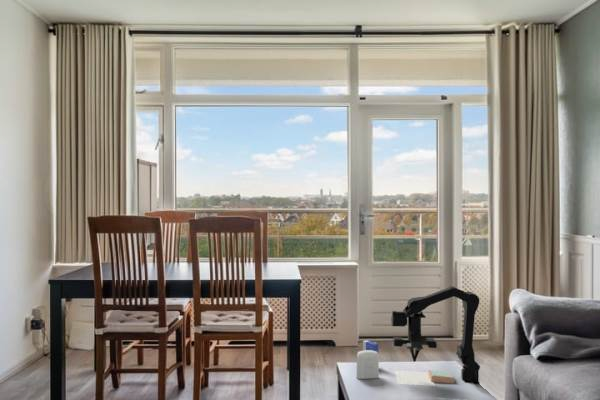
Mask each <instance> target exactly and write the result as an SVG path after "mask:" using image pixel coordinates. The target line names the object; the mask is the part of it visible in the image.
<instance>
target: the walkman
mask: <svg viewBox="0 0 600 400" xmlns="http://www.w3.org/2000/svg"><path fill="white" fill-rule="evenodd" d="M364 350H372V351H376V352H378V353H379V343H377V342H376V341H371V340H363V341H362V351H364Z"/></svg>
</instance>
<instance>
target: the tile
mask: <svg viewBox="0 0 600 400" xmlns="http://www.w3.org/2000/svg"><path fill="white" fill-rule="evenodd" d="M428 372H429V373H428V376H429V378H430V380H431V382H434V383H446V384H447V383H448V384H455V377H454V375H453V374H452V372H450V371H438V370H430V369H429V370H428Z"/></svg>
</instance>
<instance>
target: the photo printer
mask: <svg viewBox="0 0 600 400" xmlns="http://www.w3.org/2000/svg"><path fill="white" fill-rule="evenodd" d="M379 359H380V357H379V351H378V352H376V351H372V350H364V351H363V350H361V351H358V352H357V354H356V378H357V379H358V380H359V379H360V380H365V379H366V380H368V379H379V370H380V369H379V368H380V366H379V365H380V363H379V361H380V360H379Z"/></svg>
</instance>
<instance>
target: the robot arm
mask: <svg viewBox="0 0 600 400" xmlns="http://www.w3.org/2000/svg"><path fill="white" fill-rule="evenodd" d="M452 297H454V298H457V299H459V300H461V301H462V307H463V313H464V314H463V324H462V325H463V326H462V337H461V338H462V339H461V343H460V345H459V344H457V345H456V352H455V354H456V355H457V358H458V360H459V361H460V362H461V363H462V369H460V371H461V374H460V375H461V376H460V377H461V380H462V381H463V382H464V383H468V384H475V385H476V384H477V385H480V384H481V382H480V380H479V377H480V376H479V375H480V373H479V371H480V369H481V366H480V364H479V363H478V362H477V361H476V359H475V351H474V347H473V340H474V331H475V329H474V327H475V316H476V312H477V310H478V308H479V305H480V298H479V296H478V295H477V294H476V293H473V292H472V291H464V290H461V289H459V288H457V287H455V286H452V285H451V286H448V287H447V288H445V289H441V290H440V291H439V290H438V291H436V292H433V293H431V294H428V295H425V296H416V297H412V298H409V299H408V300H407V304H406V306H405V307H404V309H403V310H402V311H396V310H392V311H391V317H390V320H391V321H390V322H391V323H390V324H391V327H403V328H405V327H406V326H407V339H404V338H403V337H402V336H394V337H393V339H392V344H393V346H394V347H402V346H404V345H405V347H406V349H409V351H410V355H411V357H412V361H413V362H417V358H418V356H419V353H420V351H422V350H423V349H424V346H427V347H428V348H430V349H437V345H438V344H437V341H436V340H435V338H429V337H427V336H423V335H422V319H424V318H426V317H427V316H426V315H425V314H424V313H423V311H424V310H425V309H426V308H429V307H430V306H431V305H435V304H437V303H439V302H443V301H445V300H447V299H450V298H452Z"/></svg>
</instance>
